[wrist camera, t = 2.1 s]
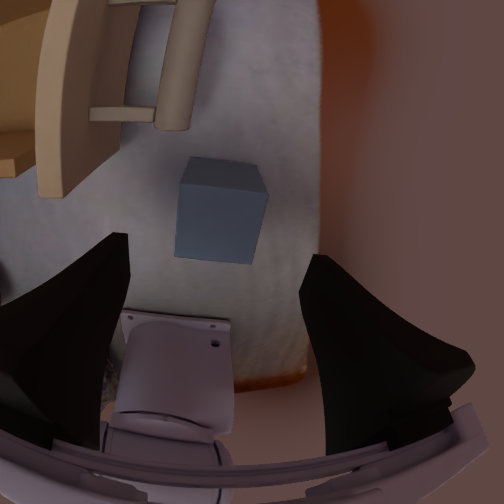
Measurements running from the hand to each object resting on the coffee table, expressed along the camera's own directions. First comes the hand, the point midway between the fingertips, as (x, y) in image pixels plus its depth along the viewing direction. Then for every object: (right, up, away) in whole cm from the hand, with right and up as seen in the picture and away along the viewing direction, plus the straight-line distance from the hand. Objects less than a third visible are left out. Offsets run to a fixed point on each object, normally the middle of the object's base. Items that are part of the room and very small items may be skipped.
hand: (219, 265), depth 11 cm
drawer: (-9, +11, -1) cm, 14 cm away
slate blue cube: (-1, +4, +6) cm, 8 cm away
